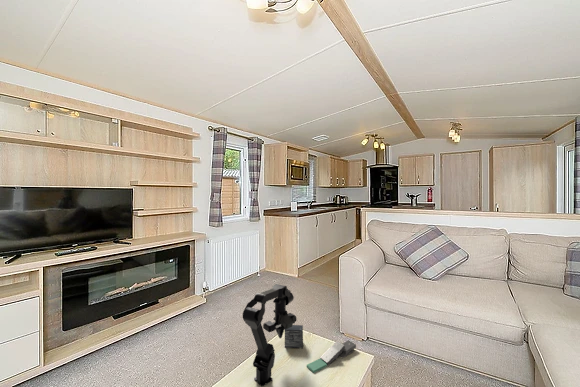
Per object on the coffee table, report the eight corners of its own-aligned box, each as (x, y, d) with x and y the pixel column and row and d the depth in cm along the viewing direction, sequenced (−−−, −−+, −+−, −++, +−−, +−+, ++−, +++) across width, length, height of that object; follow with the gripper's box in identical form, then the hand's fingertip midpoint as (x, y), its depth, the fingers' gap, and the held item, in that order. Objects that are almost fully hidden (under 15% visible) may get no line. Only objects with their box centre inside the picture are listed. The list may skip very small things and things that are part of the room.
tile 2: (326, 362, 133) (338, 350, 138) (319, 356, 138) (331, 345, 143) (327, 365, 134) (339, 353, 139) (320, 359, 138) (332, 348, 143)
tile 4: (345, 350, 141) (355, 344, 147) (338, 346, 145) (348, 339, 151) (346, 354, 141) (356, 347, 147) (338, 349, 145) (348, 343, 151)
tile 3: (334, 357, 138) (344, 344, 143) (326, 352, 142) (336, 340, 147) (335, 360, 138) (345, 347, 143) (327, 355, 142) (337, 343, 148)
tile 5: (342, 355, 140) (353, 349, 145) (334, 350, 144) (345, 345, 149) (342, 359, 140) (353, 353, 145) (334, 354, 144) (345, 348, 149)
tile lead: (313, 370, 128) (326, 364, 133) (306, 364, 133) (319, 358, 138) (313, 374, 128) (326, 367, 133) (306, 368, 133) (319, 361, 138)
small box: (303, 342, 155) (303, 324, 155) (302, 348, 148) (302, 330, 148) (285, 341, 156) (285, 323, 156) (284, 347, 149) (284, 329, 149)
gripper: (275, 319, 126) (275, 352, 126) (303, 308, 138) (303, 338, 138) (262, 311, 134) (262, 342, 134) (289, 302, 146) (289, 329, 146)
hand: (280, 338), depth 138 cm, fingers closed
